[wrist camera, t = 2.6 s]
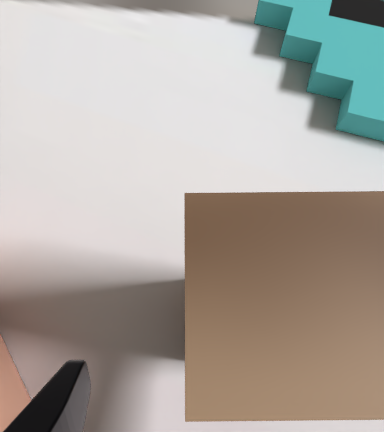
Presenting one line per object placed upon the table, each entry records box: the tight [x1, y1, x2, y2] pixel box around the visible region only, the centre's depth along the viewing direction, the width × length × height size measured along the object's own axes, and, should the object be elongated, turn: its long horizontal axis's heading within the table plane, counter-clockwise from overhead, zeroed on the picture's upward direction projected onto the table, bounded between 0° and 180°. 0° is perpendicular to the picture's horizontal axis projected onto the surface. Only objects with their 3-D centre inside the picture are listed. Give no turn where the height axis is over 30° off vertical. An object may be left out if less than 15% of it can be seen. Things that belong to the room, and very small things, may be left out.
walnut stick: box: [185, 191, 384, 422], centre depth 12 cm, size 4×4×12 cm
